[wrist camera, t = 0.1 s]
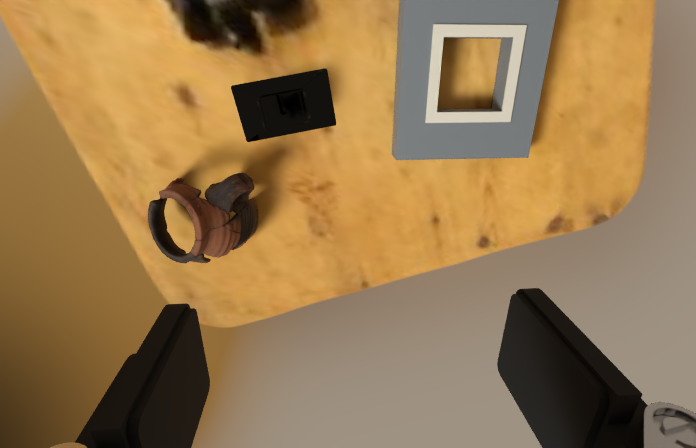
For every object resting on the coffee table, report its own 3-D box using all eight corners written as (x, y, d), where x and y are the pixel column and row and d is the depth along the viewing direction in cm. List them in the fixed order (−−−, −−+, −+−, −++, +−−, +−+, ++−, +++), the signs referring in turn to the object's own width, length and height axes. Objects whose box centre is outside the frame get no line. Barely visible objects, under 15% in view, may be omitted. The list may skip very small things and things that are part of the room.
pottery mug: (238, 261, 45) (182, 289, 38) (189, 201, 46) (126, 218, 39) (295, 197, 40) (242, 216, 32) (238, 130, 40) (174, 134, 33)
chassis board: (403, -74, 33) (409, -84, 31) (557, -70, 34) (575, -80, 32) (391, 154, 41) (396, 160, 39) (517, 152, 42) (529, 158, 40)
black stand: (340, 57, 37) (343, 57, 33) (352, 131, 40) (356, 140, 36) (215, 80, 37) (202, 83, 33) (236, 153, 40) (227, 164, 36)
